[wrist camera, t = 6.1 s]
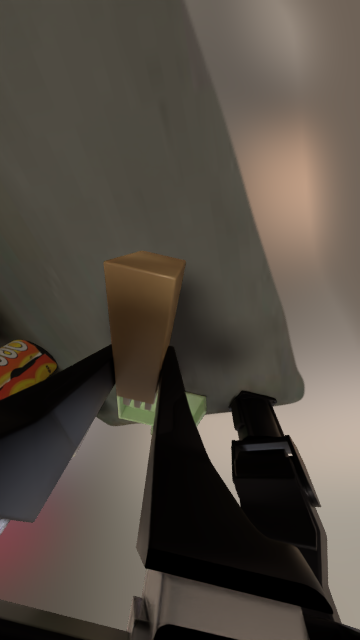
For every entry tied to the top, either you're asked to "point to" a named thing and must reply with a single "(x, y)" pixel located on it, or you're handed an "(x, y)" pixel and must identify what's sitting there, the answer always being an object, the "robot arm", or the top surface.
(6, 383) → the beverage can
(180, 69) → the top surface
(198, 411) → the tray
